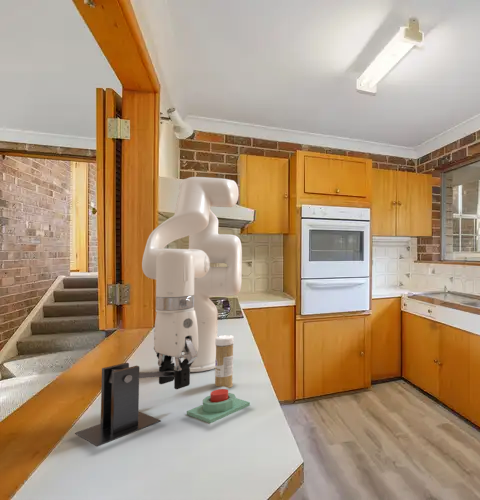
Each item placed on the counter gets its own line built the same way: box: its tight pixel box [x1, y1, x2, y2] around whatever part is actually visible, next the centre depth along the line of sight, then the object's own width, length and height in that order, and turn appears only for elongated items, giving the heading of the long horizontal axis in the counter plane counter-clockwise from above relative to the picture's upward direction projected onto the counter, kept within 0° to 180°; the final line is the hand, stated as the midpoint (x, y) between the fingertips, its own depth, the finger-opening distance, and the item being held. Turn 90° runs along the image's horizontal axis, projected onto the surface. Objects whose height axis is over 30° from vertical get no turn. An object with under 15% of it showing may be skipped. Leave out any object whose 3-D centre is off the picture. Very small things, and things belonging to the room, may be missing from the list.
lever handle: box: [109, 368, 177, 383], centre depth 74 cm, size 13×5×2 cm, turn 150°
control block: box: [186, 392, 251, 424], centre depth 77 cm, size 10×8×4 cm
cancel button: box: [209, 388, 229, 402], centre depth 77 cm, size 4×4×2 cm
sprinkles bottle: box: [214, 334, 235, 389], centre depth 93 cm, size 5×5×14 cm
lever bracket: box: [74, 362, 162, 447], centre depth 69 cm, size 11×9×13 cm
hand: (174, 383), depth 78 cm, fingers closed on lever handle, 5 cm apart
